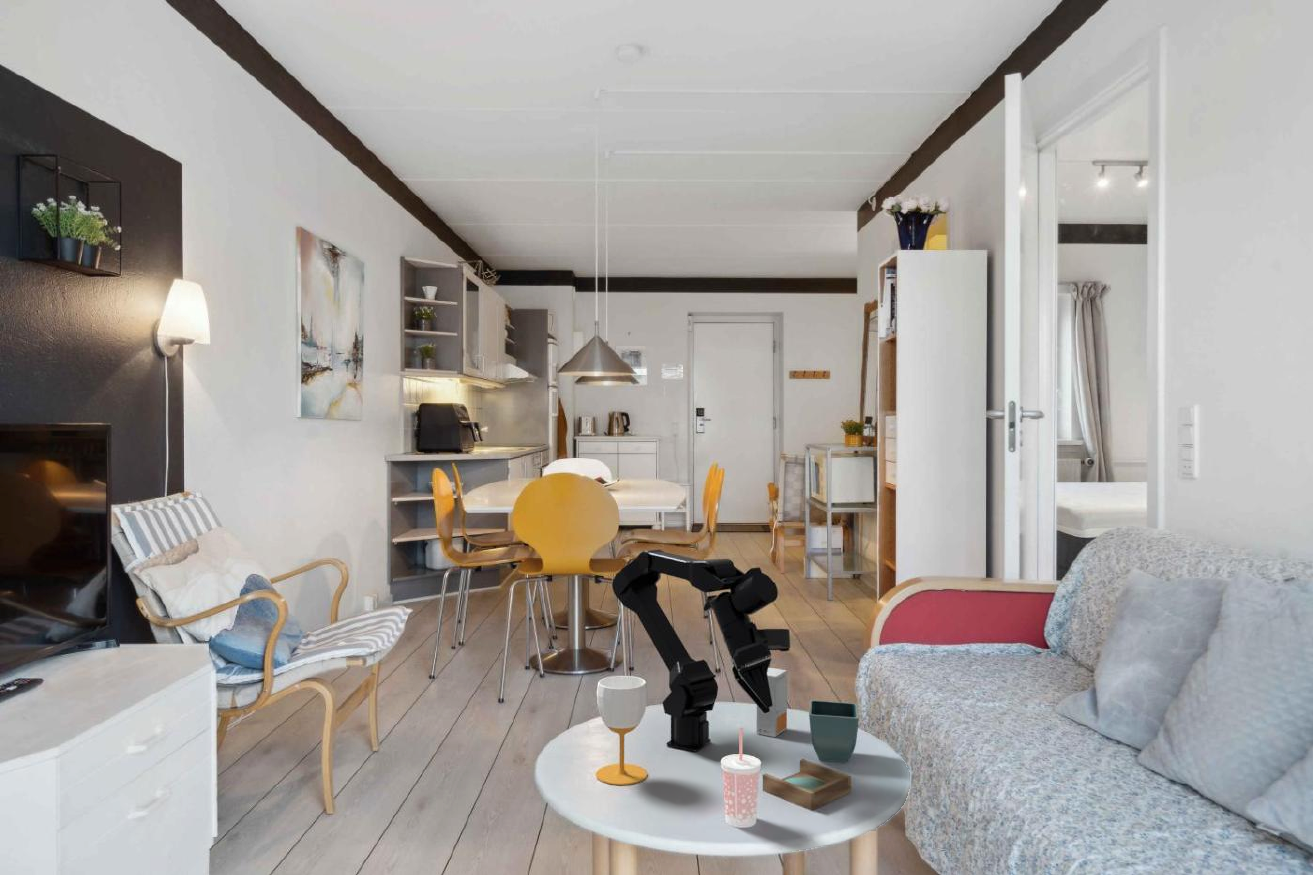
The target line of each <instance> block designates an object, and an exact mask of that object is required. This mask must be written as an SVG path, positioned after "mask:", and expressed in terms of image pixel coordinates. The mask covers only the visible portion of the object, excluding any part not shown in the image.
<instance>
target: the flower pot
mask: <svg viewBox="0 0 1313 875" xmlns="http://www.w3.org/2000/svg"><path fill="white" fill-rule="evenodd" d="M858 709H859V707H858V704H857V703H853V702H840V701H829V700H816V699H815V700H814V699H812V700H809V710H808V711H809V712H808V715H809V716H808V717H809V727H810V728H809V729H810V738H811V743H812V747H813V751H814V752H815V753H816V756H817V758H818V759H819V760H820V761H828V762H840V763H847V762H848V761H850V759H851V757H852V755H853V753H854V751H855V749H856V746H857V745H856V744H857V738H858V732H859V721H860V720H859V719H860V716H859V710H858Z"/></svg>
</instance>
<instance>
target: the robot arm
mask: <svg viewBox="0 0 1313 875" xmlns="http://www.w3.org/2000/svg"><path fill="white" fill-rule="evenodd" d="M734 563H735V562H734V561H732V559H729V558H710V559H697V558H693V557H688V556H684V555H680V554H677V553H676V554H675V553H671V552H666V551H664V550H662V549H649V550H643V551H642V552H640V553H639V554H638V555H637V556H636V558H635V559H634V560H632V561H630V562H629V563H627V564H626V565H625V566H623V567H622V568H621V569H620V571H619V572H617V573H616V574H615V576H614V578H613V580H612V583H611V586H612V589H613V590H612V591H613V593H614V595H615V598H617V599H618V600H619V602H620V603H621V605H623V606H624V607H626V608H627V609H628V610H630V611H632V612H633V613H635V614H636V616H637V618H638V619H639V621H640V623H641V625H642V626H643V628H644V630H645V631H646V634H647V635H648V637H649V638H650V640H651V642H652V644H653V646H654V647H655V649H656V651H657V652H658V654H659V656H660V658H661V659H662V661H663V663H664V665H665V667H666V668H667V670H668V673H669V674H668V676H669V677H668V679H669V680H668V687H669V691H670V693H669V694H668V695H667V696H666V698H665V699H664V700H663V701H662V707H663V711H664V712H663V713H664V714H666V715H668V716H670V740H668V741H667V742H666V746H667V747H671V748H676V749H680V750H686V751H689V752H694V753H695V752H698V751H699V750H701V749H702V748H703V747H705V746H707V745H708V744H710V743H711V741H712V740H711V739H710V738H709V737H710V722H709V721H708V717H707V714H708V713H707V712H708V711H709V712H710V711H713V710H714V707H715V703H716V700H717V698H718V697H717V696H718V691H719V685H718V682H717V680H716V679H715V678H716V677H717V676H716V674H715V673H714V672H713V671H712V670H711V669H710V666H709V664H708V662H707V661H706V660H705V659H701V660H695V659H693V658H692V657H691V655H690V654H689V652H688V651H687V649H686V647H685V646H684V644H683V642H682V641H681V639H680V637H679V635H678V634H677V632H676V630H675V629H674V626H672V623H671V622H670V620H669V619H668V617H667V615H666V613H665V612H664V610H663V609H662V607H661V605H660V603H659V601H658V586H657V583H658V582H659V581H660V580H661V575H662V574H663V575H666V576H670V577H674V578H678V579H682V580H685V581H688V582H689V583H690V585H691V586H692V587H693V588H695V589H697V590H699V591H700V592H703V593H713V592H714V593H715V592H721V591H722V592H721V593H719V594H717V595H716V594H715V595H714V594H713V595H707V598H706V602H705V603H704V607H703V611H704V612H708V611H712V612H713V614H714V617H715V620H716V622H717V624H718V627H719V630H720V633H721V635H722V640H723V642H724V644H725V647H726V649H727V651H728V653H729V656H730V660H731V663H732V664H731V665H733V667H732V670H731V674H732V676H733V679H734V681H735V682H736V684H737V685H738V686H739V687H740V688H741V690H743V691H744V693H746V694H747V696H748V697H749V698H750V699H751V700H752V702H754V704H756V707H757V706H758V707H759V708H760V709H761V710H762V711H763V713H768V712H769V711H770V709H769V707H772V705H773V704H772V698H771V693H770V687H769V682H768V676H767V672H768V668H770V665H771V663H772V653H771V651H780V652H788V651H790V648H791V637H790V635H791V633H790V631H791V630H790V629H788V628H764V629H763V628H762V629H758V628H757V625H756V623H755V622H753V621H752V620H751V617H750V616H752V615H755V614H756V613H757V612H759V611H761V610H763V609H764V608H765V607H767V606H769V605H771V604H772V603H774V602H775V601H776V600H777V599H778V596H779V593H778V592H779V591H778V586H777V584H776V582H774V581H773V579H772V578H771V577H770V576H769V575H767V574H765V573H764V572H762V570H761V567H758V566H757V567H756V566H755V567H751V568H750V569H748V570H747V571H746V573H744V572H743V571H741V570H740V569H739V568H737V567H736V566H735V565H734ZM727 590H729V591H727ZM749 615H750V616H749Z"/></svg>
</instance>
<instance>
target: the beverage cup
mask: <svg viewBox="0 0 1313 875" xmlns="http://www.w3.org/2000/svg"><path fill="white" fill-rule="evenodd" d="M738 732H739V734H738V736H739V738H738V739H739V740H738V741H739V744H738V745H739V747H738V748H739V749H738V751H739V752H738V753H737V754H729V755H726V756H723V757H722V758H721V760H720V767H721V769H722V775H723V776H722V778H723V781H722V782H723V795H724V796H723V798H724V815H725V822H726V824H728V825H729V826H731V827H733V828H740V829H744V828H751V827H753V826H755V825H756V823H757V813H758V812H757V811H758V810H757V809H758V794H759V793H758V792H759V779H760V778H759V777H760V771H761V768H762V767H761V766H762V765H761V764H762V761H761V760H760V758H757V756H753V755H749V754H744V753H743V727H739V730H738Z"/></svg>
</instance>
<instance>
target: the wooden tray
mask: <svg viewBox="0 0 1313 875" xmlns="http://www.w3.org/2000/svg"><path fill="white" fill-rule="evenodd" d="M762 791H763V792H765V793H767V794H770V795H773V796H775V797H776V798H777V797H778V798H780V799H782V800H784V801H787V802H789V803H791V804H792V803H793V804H795V805H797V806H798V807H799V806H800V807H803V808H804V809H807V810H809V811H814V810H815V809H818V808H819V807H821V806H824V805H826V804H828V803H831V802H833V801H835V800H838V799H839V798H841V797H844V796H846V795H847V794H850V793H851V792H852V776H851V775H849V774H846V773H844V772H840V771H838V770H835V769H833V768H829V767H827V766H824V765H820V764H818V763H815V762H813V761H810V760H806V759H805V758H801V759H799V771H798V772H796V773H793V774H791V775H788V776H786V777H784V778H779V777H776V776H773V775H771V774H768V773H764V774H762Z"/></svg>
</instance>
